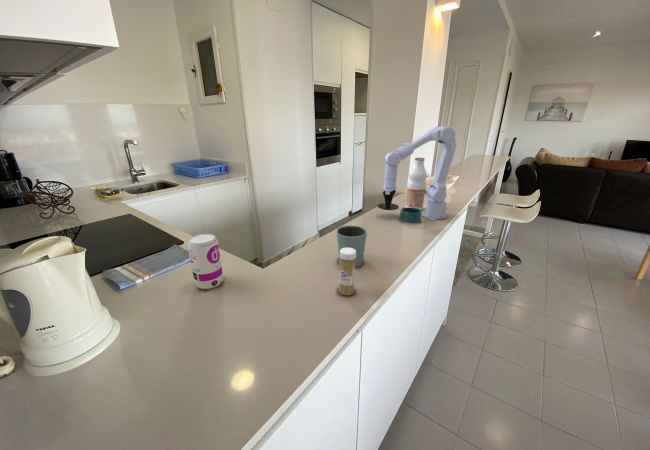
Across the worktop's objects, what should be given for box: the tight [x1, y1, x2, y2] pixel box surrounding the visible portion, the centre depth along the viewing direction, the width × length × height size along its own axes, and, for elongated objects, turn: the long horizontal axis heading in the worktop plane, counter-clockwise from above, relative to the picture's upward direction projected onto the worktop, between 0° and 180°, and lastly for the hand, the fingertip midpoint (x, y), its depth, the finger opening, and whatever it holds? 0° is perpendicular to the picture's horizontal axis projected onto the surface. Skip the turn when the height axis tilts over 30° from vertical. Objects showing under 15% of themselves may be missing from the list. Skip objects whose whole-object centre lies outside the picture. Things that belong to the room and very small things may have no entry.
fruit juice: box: [404, 157, 428, 211], centre depth 150 cm, size 9×9×28 cm
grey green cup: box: [336, 225, 368, 268], centre depth 96 cm, size 10×10×12 cm
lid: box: [377, 202, 400, 211], centre depth 138 cm, size 10×10×5 cm
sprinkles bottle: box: [338, 248, 356, 296], centre depth 79 cm, size 5×5×13 cm
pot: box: [399, 207, 423, 224], centre depth 136 cm, size 10×10×5 cm
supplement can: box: [187, 233, 224, 290], centre depth 83 cm, size 8×8×15 cm
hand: (388, 205), depth 138 cm, fingers closed on lid, 2 cm apart
